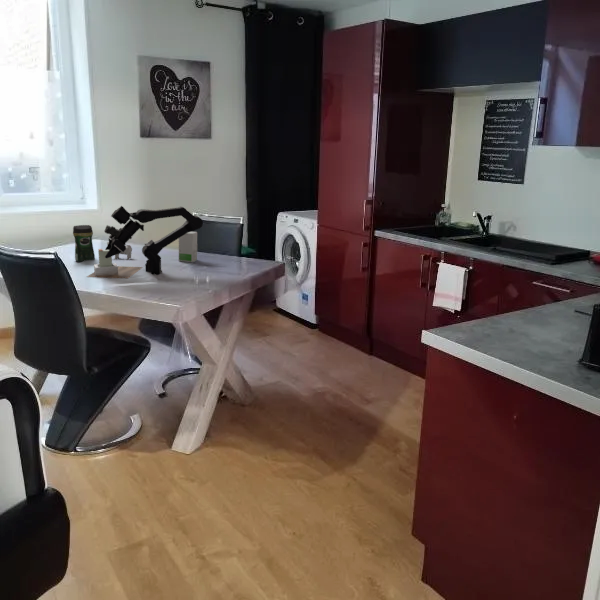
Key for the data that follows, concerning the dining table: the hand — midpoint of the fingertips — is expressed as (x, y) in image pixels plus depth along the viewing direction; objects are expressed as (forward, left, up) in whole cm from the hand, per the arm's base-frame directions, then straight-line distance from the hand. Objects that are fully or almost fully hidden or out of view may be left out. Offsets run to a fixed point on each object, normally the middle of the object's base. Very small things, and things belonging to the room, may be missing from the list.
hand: (104, 255), depth 266 cm
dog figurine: (+6, -39, -10) cm, 41 cm away
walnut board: (-3, -5, -9) cm, 11 cm away
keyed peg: (0, 0, -8) cm, 9 cm away
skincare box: (-30, -40, -10) cm, 51 cm away
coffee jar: (+22, -31, -10) cm, 39 cm away
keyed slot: (0, 0, -8) cm, 8 cm away
